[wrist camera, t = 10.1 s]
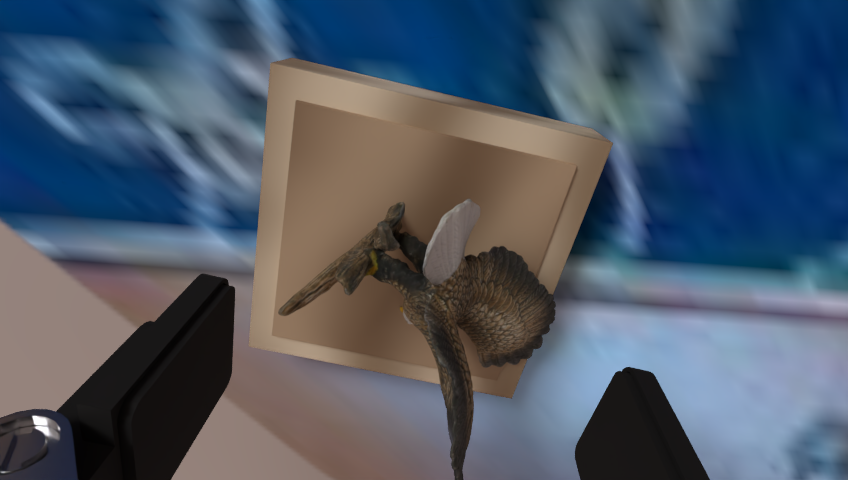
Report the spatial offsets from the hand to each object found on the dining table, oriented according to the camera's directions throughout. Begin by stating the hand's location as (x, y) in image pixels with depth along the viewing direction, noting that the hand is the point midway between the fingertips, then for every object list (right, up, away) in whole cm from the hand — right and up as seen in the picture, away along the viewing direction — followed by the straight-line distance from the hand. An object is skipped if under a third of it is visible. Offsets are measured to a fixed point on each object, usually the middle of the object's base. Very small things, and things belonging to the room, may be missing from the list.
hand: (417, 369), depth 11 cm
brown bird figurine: (+1, +1, +8) cm, 8 cm away
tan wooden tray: (0, +4, +9) cm, 10 cm away
